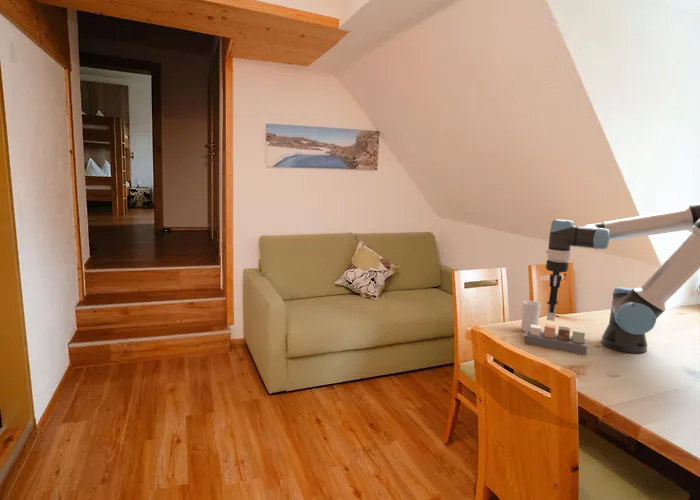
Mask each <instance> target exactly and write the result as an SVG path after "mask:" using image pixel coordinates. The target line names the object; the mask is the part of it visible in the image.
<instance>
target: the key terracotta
mask: <svg viewBox="0 0 700 500" xmlns="http://www.w3.org/2000/svg"><path fill="white" fill-rule="evenodd" d="M543 329H544V330H543V331H544V337H549V338H554V336H555V334H556V325H554V324H548V323H545V324H544V328H543Z"/></svg>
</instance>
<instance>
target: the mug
mask: <svg viewBox="0 0 700 500" xmlns="http://www.w3.org/2000/svg"><path fill="white" fill-rule="evenodd" d="M541 305H542V304H541V302H539V301H534V300H523V304H522V316H521V325H520V326H521V327H520V328H521V329H520V330H522V331H523V332H526V333H527V331H528V329H530V327H531V324H532V325H538V326H539V321H540V320H539V319H540V312H541Z"/></svg>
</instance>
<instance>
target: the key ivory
mask: <svg viewBox="0 0 700 500" xmlns="http://www.w3.org/2000/svg"><path fill="white" fill-rule="evenodd" d="M541 331H542V325H539V324H538V325H532V324H531V327H530V335H536V336H540V335H541Z"/></svg>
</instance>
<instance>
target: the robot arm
mask: <svg viewBox="0 0 700 500" xmlns="http://www.w3.org/2000/svg"><path fill="white" fill-rule="evenodd" d="M681 231H688V232H691V234H690V235H689V236H688V237H687V238H686V239H685V241H683V243H682V244H681V245H680V246H679V247H678V248H677V249H676V250H674V252H673V253H672V254H671V255H670V256H669V257H668V258H667V259H666V260H665V261H664V262H663V263H662V265H661V266H660V267H659V268H658V269H657V270H656V271H655V272H654V273H653V274H652V275H651V276H650V277H649V278H648V280H647V281H645V283H643V284H642V286H640V287H634V288H632V287H631V288H630V287H618V286H617V287H615V288H614V289H613V292H612V300H611V308H610V314H609V315H610V316H609V322H608V324H607V326H606V329H605V330H604V332H603V334H602V336H601V344H602V345H603V346H606V347H608V348H610V349H613V350H616V351H620V352H624V353H631V354H643V353H646V352H647V351H648V342H647V337H646V333H648V332H651V330H653V329H654V327H655V326H656V323H657V319H658V318H659V317H660V316H661V315H662V314H663V313H664V312H665V311H666V306H665V305H666V304H665V303H666V302H668V300H670V298H672V297H673V295H674V294H676V293H677V292H678V290H680V289H681V287H682V286H683V285H685V284H686V282H688V281H689V279H690V278H691V277H693V276H694V275H695V273H696V272H698V270H700V202H699V203H698V202H697V203H694V204H688V205H685V206H684V207H683V208H681V209H675V210H670V211H665V212H664V211H663V212H657V213H651V214H645V215H640V216H633V217H627V218H622V219H616V220H615V219H614V220H610V221H609V220H608V221H603V222H596V223H586V224H584V225H582V226H576V225H574V221H573V220H571V219H570V220H569V219H553V220H552V221H551V224H550V230H549V236H548V247H547V250H545V254H547V260H546V265H545V270H547V271H550V272H552V273H551V274H549V275H550V276H549V287H550V293H549V297H548V298H549V300H548V301H547V302H546V304H547V306H548V307H547V313H546V320H547V321H552V322H554V321H555V318H556V310H557V309H556V308H557V304H559V301H557V300H558V299H557V298H558V292H559V288H560V287H561V282H562V275H560V273H567V272H568V270H569V261H570V256H571V247H578V248H588V249H594V250H599V249H600V250H606V249H607V248H608V246H609V243H610V241H612V242H613V241H617V240H618V241H619V240H626V239H631V238H639V237H646V236H655V235H660V234H667V233H673V232H681Z"/></svg>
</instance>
